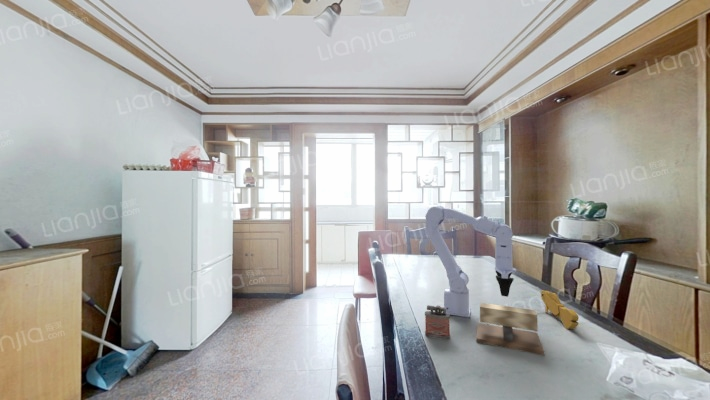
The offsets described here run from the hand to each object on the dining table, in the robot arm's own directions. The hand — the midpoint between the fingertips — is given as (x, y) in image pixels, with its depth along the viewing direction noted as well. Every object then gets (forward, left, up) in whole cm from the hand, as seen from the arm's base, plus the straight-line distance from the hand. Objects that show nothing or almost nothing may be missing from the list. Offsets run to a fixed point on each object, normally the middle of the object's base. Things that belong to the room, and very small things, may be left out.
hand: (504, 292), depth 102 cm
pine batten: (0, -15, -5) cm, 16 cm away
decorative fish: (+18, +9, -11) cm, 23 cm away
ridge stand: (0, -15, -10) cm, 18 cm away
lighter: (-21, -22, -11) cm, 32 cm away
